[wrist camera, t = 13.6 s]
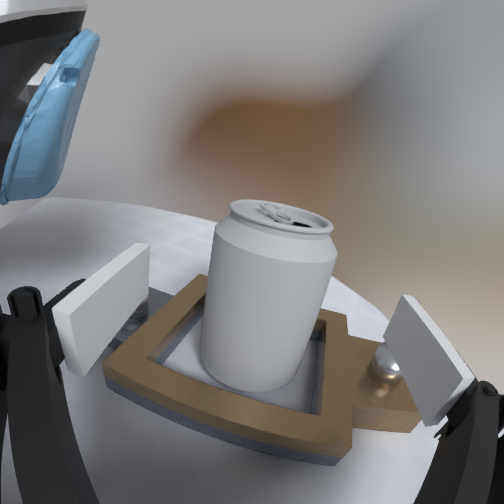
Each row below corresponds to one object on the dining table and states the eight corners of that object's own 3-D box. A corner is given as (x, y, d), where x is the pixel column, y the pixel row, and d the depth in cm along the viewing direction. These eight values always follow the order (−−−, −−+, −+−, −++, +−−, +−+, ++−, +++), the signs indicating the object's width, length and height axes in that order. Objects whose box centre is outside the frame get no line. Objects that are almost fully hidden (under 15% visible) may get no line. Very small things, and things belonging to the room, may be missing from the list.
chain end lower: (50, 348, 16) (42, 317, 15) (149, 277, 29) (150, 253, 28) (334, 466, 12) (356, 442, 11) (338, 334, 26) (348, 309, 25)
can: (231, 414, 15) (274, 231, 11) (182, 344, 21) (197, 191, 17) (313, 378, 20) (368, 230, 15) (258, 326, 25) (287, 197, 21)
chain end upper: (107, 387, 15) (97, 340, 13) (197, 294, 28) (201, 257, 27) (414, 469, 11) (453, 434, 10) (390, 346, 25) (407, 312, 23)
